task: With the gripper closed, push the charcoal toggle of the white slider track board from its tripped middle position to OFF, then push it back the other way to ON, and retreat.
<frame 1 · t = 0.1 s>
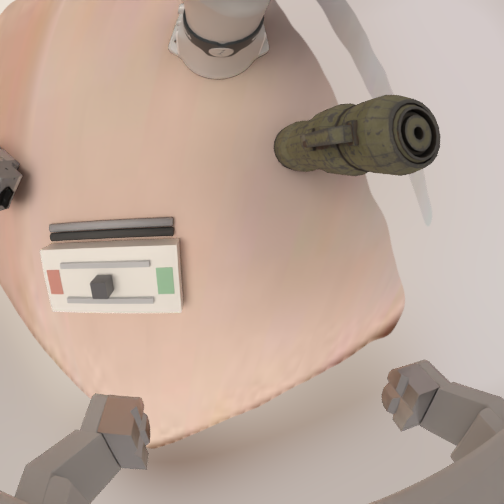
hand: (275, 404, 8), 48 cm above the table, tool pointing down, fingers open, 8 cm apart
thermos: (296, 147, 53), on the table
breaker toggle: (102, 286, 47), point 7 cm above the table, slide at 0.0 cm
white slider track board: (113, 272, 54), on the table
circuit breaker: (10, 176, 45), on the table
long gray rail: (106, 229, 51), on the table
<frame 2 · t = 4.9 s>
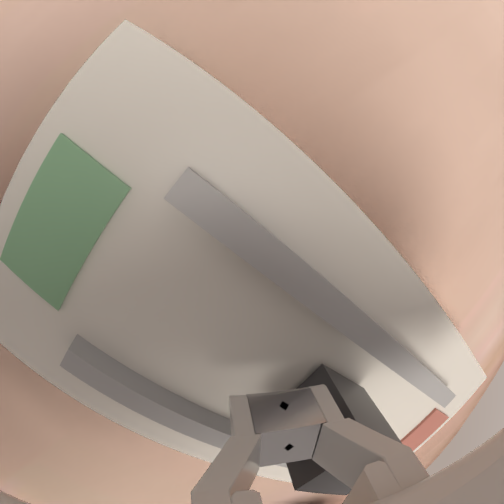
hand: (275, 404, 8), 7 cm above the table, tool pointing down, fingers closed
breaker toggle: (336, 433, 9), point 7 cm above the table, slide at -0.4 cm, touching gripper
white slider track board: (282, 333, 16), on the table
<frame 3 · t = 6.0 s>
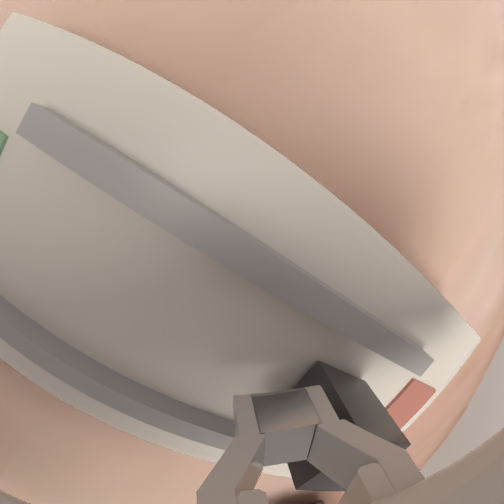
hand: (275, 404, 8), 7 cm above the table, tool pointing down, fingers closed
breaker toggle: (337, 430, 9), point 7 cm above the table, slide at -5.2 cm, touching gripper
white slider track board: (207, 290, 15), on the table
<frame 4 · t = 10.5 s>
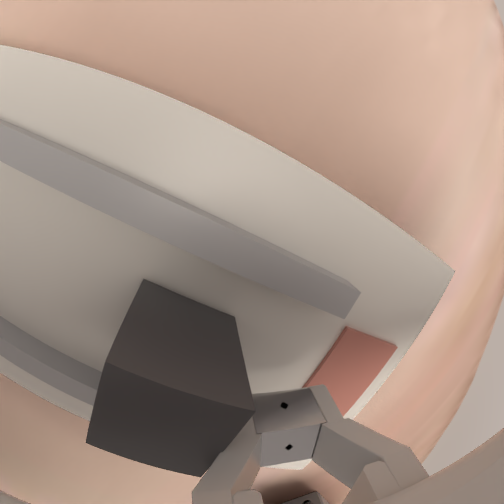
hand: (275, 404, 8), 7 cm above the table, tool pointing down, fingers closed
breaker toggle: (166, 376, 7), point 7 cm above the table, slide at -4.5 cm, touching gripper
white slider track board: (99, 238, 13), on the table
circuit breaker: (286, 502, 23), on the table
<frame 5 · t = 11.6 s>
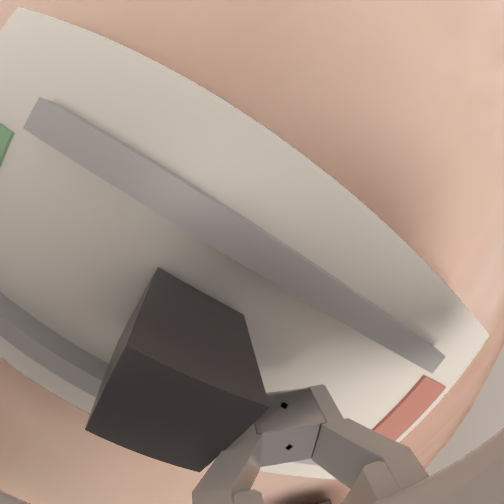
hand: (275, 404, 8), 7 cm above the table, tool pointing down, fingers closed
breaker toggle: (173, 368, 7), point 7 cm above the table, slide at 1.8 cm, touching gripper
white slider track board: (218, 289, 14), on the table
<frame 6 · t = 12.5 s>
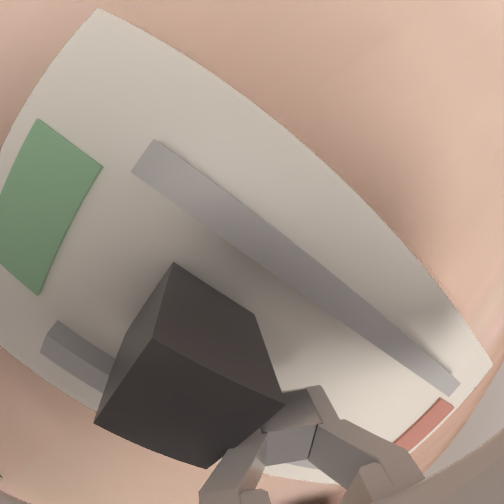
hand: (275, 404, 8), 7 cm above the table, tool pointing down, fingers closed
breaker toggle: (185, 363, 7), point 7 cm above the table, slide at 5.2 cm, touching gripper
white slider track board: (274, 321, 15), on the table
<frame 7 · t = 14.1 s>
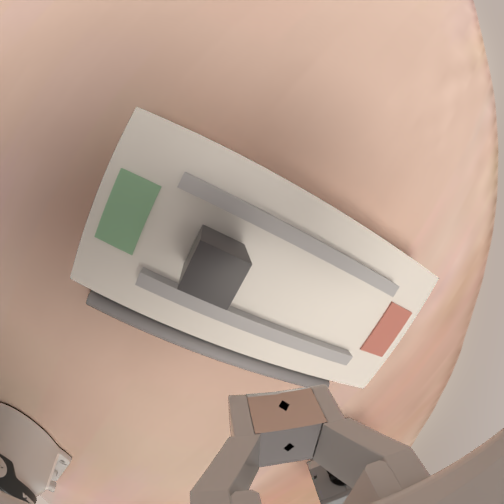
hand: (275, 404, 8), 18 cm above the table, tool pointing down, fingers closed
breaker toggle: (213, 264, 17), point 7 cm above the table, slide at 5.1 cm
white slider track board: (266, 260, 26), on the table
circuit breaker: (332, 445, 36), on the table
long gray rail: (221, 344, 27), on the table
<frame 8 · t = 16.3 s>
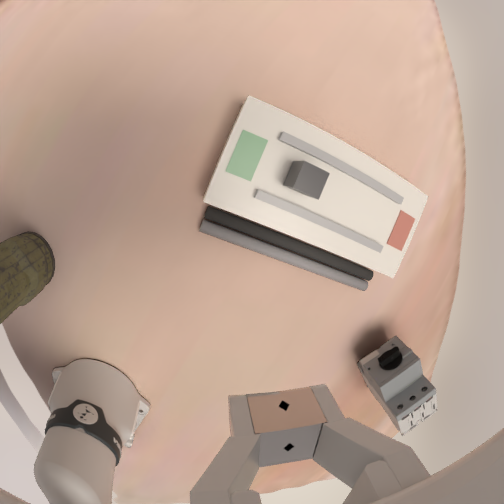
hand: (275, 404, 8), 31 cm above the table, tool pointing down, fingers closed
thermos: (32, 259, 35), on the table
breaker toggle: (305, 179, 30), point 7 cm above the table, slide at 5.1 cm
white slider track board: (319, 191, 39), on the table
circuit breaker: (374, 354, 49), on the table
long gray rail: (295, 253, 40), on the table
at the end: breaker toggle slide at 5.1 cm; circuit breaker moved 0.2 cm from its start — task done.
